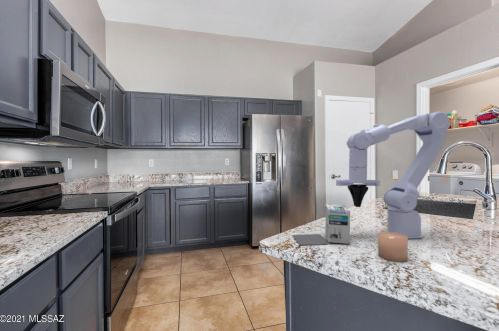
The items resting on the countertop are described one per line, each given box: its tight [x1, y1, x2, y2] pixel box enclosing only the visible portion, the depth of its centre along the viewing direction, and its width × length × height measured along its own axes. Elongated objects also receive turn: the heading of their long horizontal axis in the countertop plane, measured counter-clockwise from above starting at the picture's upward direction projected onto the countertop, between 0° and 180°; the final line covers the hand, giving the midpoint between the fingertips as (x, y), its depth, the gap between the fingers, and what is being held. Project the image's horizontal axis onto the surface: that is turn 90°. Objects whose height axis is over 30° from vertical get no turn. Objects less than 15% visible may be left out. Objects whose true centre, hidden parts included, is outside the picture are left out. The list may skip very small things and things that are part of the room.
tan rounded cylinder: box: [377, 231, 409, 263], centre depth 67 cm, size 7×7×6 cm
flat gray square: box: [291, 233, 332, 247], centre depth 81 cm, size 10×10×1 cm
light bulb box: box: [324, 203, 351, 245], centre depth 82 cm, size 11×7×11 cm, turn 168°
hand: (357, 206), depth 84 cm, fingers closed
